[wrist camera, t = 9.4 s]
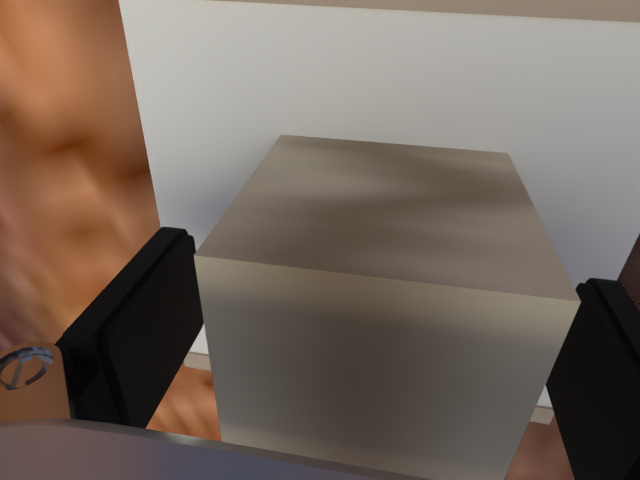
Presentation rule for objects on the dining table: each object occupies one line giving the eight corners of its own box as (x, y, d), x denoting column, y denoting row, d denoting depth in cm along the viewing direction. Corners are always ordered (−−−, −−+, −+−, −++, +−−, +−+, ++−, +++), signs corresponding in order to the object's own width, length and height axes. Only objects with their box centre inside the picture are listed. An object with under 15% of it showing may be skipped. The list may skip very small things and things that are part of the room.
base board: (717, -21, 10) (763, -17, 9) (538, 389, 18) (549, 424, 16) (141, -43, 12) (108, -43, 11) (200, 338, 20) (185, 366, 18)
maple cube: (507, 153, 12) (580, 301, 7) (462, 325, 15) (489, 513, 10) (281, 134, 12) (193, 255, 7) (285, 302, 16) (225, 465, 11)
